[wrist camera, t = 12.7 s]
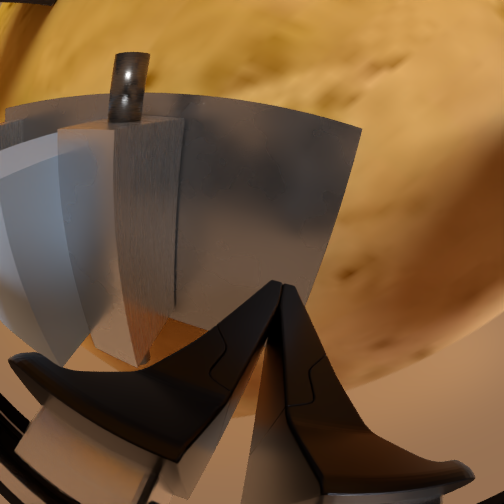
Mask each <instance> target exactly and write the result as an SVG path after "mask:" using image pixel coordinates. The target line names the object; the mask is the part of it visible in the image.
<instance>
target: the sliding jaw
mask: <svg viewBox="0 0 504 504" xmlns="http://www.w3.org/2000/svg"><path fill="white" fill-rule="evenodd" d="M149 59H150V54H148V53H141V52H125V53H118V54H116V55H115V61H114V67H113V74H112V81H111V89H110V98H109V109H108V119H103V120H97V121H92V122H87V123H82V124H77V125H73V126H68V127H64V128H60V129H58V138H57V142H58V173H59V187H60V198H61V207H62V215H63V222H64V229H65V235H66V241H67V246H68V252H69V257H70V261H71V266H72V270H73V275H74V279H75V283H76V287H77V291H78V294H79V298H80V302H81V305H82V309H83V312H84V315H85V318H86V321H87V325H88V328H89V331H90V333H91V336H92V339H93V342H94V345H95V347H96V348H97V349H99V350H101V351H103V352H105V353H107V354H109V355H111V356H113V357H115V358H117V359H120V360H122V361H124V362H126V363H128V364H130V365H133V366H135V367H137V368H138V366H139V365H143V364H146V363H147V362H148V361H149V360H150V352H149V348H150V347H151V345H152V344H153V342H154V340H155V339H156V337H157V336H158V334H159V332H160V331H161V329H162V328H163V326H164V325H165V323H166V321H167V320H168V318H169V317H170V315H171V314H172V312H173V311H174V259H175V230H176V211H177V195H178V182H179V170H180V160H181V150H182V141H183V133H184V125H185V118H175V117H163V116H148V115H142V108H143V99H144V91H145V84H146V77H147V71H148V65H149Z"/></svg>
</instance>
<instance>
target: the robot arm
mask: <svg viewBox="0 0 504 504" xmlns="http://www.w3.org/2000/svg"><path fill="white" fill-rule="evenodd" d="M266 340H267V341H266ZM265 343H266V347H265V354H264V361H263V368H262V375H261V382H260V389H259V396H258V403H257V409H256V416H255V423H254V430H253V435H252V441H251V448H250V454H249V455H250V456H249V459H248V465H247V472H246V477H245V483H244V488H243V494H242V499H241V504H443V495H445V494H447V493H449V492H452V491H454V490H456V489H458V488H461V487H463V486H465V485H467V484H468V483H470V482H472V481H473V480H474V479H475V475H474V473H473V472H472V470H471V469H470V468H469V467H468V466H466V465H465V464H463V463H462V462H460V461H457V460H451V461H445V462H435V461H431V460H427V459H424V458H421V457H419V456H417V455H415V454H413V453H410V452H409V451H407V450H405V449H403V448H400V447H399V446H397V445H394V444H393V443H391V442H389V441H387V440H385V439H383V438H381V437H379V436H377V435H376V434H374V433H373V432H372V431H371V430H370V429H369V428H368V427H367V426H366V425H365V424H364V422H363V421H362V419H361V417H360V416H359V414H358V412H357V411H356V409H355V407H354V406H353V404H352V402H351V401H350V399H349V397H348V396H347V394H346V392H345V391H344V389H343V387H342V385H341V383H340V382H339V380H338V378H337V376H336V374H335V372H334V370H333V368H332V366H331V364H330V361H329V359H328V357H327V356H326V353H325V350H324V348H323V346H322V344H321V341H320V339H319V337H318V335H317V333H316V330H315V328H314V326H313V324H312V322H311V319H310V317H309V315H308V313H307V311H306V309H305V306H304V304H303V302H302V300H301V298H300V296H299V294H298V291H297V289H296V287H295V286H293V285H290V284H286V283H284V284H282V282H279V281H275V280H270V281H269V282H268V283H267V284H266V285H264V286H263V287H262V288H261V289H260V290H258V291H257V292H256V293H255V294H254V295H252V296H251V297H250V298H249V299H247V300H246V301H245V302H244V303H243V304H241V305H240V306H239V307H238V308H237V309H235V310H234V311H233V312H232V313H230V314H229V315H228V316H227V317H225V318H224V319H223V320H222V321H220V322H219V323H218V324H217V325H216V326H214V327H213V328H212V329H210V330H209V331H208V332H207V333H205V334H204V335H202V336H201V337H200V338H198V339H197V340H195V341H194V342H192V343H190V344H189V345H187V346H186V347H184V348H182V349H180V350H179V351H177V352H175V353H173V354H172V355H170V356H168V357H166V358H164V359H163V360H161V361H159V362H157V363H155V364H153V365H152V366H150V367H147V368H145V369H142V370H138V371H132V372H89V371H74V370H70V369H66V368H63V367H61V366H58V365H57V364H55V363H53V362H52V361H51V360H49V359H48V358H46V357H45V356H43V355H42V354H40V353H37V352H31V353H20V354H16V355H14V356H12V357H10V358H9V359H8V362H9V364H10V366H11V368H12V369H13V371H14V372H15V374H16V375H17V376H18V377H19V379H20V380H21V381H22V383H23V384H24V385H25V386H26V388H27V389H28V390H29V391H30V393H31V394H32V395H33V396H34V397H35V398H36V399H37V400H38V402H39V403H40V404H41V405H42V406H41V407H40V409H39V410H38V411H37V413H36V414H35V416H34V418H33V419H32V420H31V422H30V421H29V420H28V419H27V418H25V417H24V416H23V415H22V414H21V413H20V412H19V411H18V410H17V409H16V408H15V407H13V406H12V404H11V403H10V402H9V401H8V400H7V399H6V398H5V397H4V396H2V394H1V393H0V494H1V495H2V496H3V497H4V498H5V499H6V500H7V501H8V502H9V503H10V504H169V503H170V501H171V499H172V496H173V495H176V496H178V497H181V498H184V499H187V500H188V499H189V497H190V495H191V493H192V492H193V490H194V488H195V486H196V484H197V483H198V481H199V479H200V477H201V475H202V473H203V472H204V470H205V468H206V466H207V464H208V462H209V460H210V458H211V456H212V454H213V453H214V451H215V449H216V446H217V445H218V443H219V441H220V439H221V437H222V435H223V433H224V431H225V429H226V427H227V425H228V423H229V421H230V419H231V417H232V415H233V413H234V411H235V409H236V406H237V404H238V402H239V400H240V398H241V396H242V394H243V392H244V390H245V387H246V385H247V383H248V381H249V379H250V377H251V374H252V372H253V370H254V368H255V366H256V363H257V361H258V359H259V357H260V354H261V352H262V350H263V348H264V345H265ZM477 504H504V491H503V492H501V493H499V494H497V495H495V496H493V497H490V498H488V499H486V500H484V501H482V502H480V503H477Z"/></svg>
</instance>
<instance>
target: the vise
mask: <svg viewBox="0 0 504 504" xmlns="http://www.w3.org/2000/svg"><path fill="white" fill-rule="evenodd" d="M109 98H110V94H95V95H83V96H74V97H65V98H58V99H51V100H45V101H39V102H33V103H28V104H23V105H19V106H14V107H10V108H6V113H5V122H3V123H0V151H1V150H3V149H6V148H9V147H11V146H14V145H17V144H20V143H23V142H26V141H29V140H32V139H36V138H39V137H42V136H46V135H49V134H53V133H57V132H58V129H60V128H64V127H68V126H73V125H77V124H82V123H87V122H92V121H97V120H103V119H108V109H109ZM142 115H148V116H163V117H175V118H185V125H184V133H183V141H182V150H181V160H180V170H179V182H178V195H177V211H176V230H175V259H174V311H173V312H172V314H171V315H170V317H169V318H172V319H175V320H178V321H181V322H184V323H187V324H190V325H193V326H196V327H199V328H202V329H205V330H208V331H209V330H210V329H212V328H213V327H214V326H216V325H217V324H218V323H219V322H220V321H222V320H223V319H224V318H225V317H227V316H228V315H229V314H230V313H232V312H233V311H234V310H235V309H237V308H238V307H239V306H240V305H241V304H243V303H244V302H245V301H246V300H247V299H249V298H250V297H251V296H252V295H254V294H255V293H256V292H257V291H258V290H260V289H261V288H262V287H263V286H264V285H266V284H267V283H268V282H269V281H270V280H275V281H279V282H282V284H284V283H286V284H290V285H293V286H295V287H296V289H297V291H298V294H299V296H300V298H301V300H302V302H303V304H304V306H305V304H306V302H307V299H308V297H309V294H310V292H311V289H312V286H313V284H314V281H315V278H316V276H317V273H318V270H319V267H320V265H321V262H322V259H323V256H324V254H325V251H326V248H327V245H328V242H329V239H330V236H331V233H332V230H333V227H334V224H335V221H336V218H337V215H338V212H339V209H340V206H341V202H342V199H343V196H344V193H345V189H346V186H347V183H348V179H349V176H350V172H351V169H352V165H353V162H354V158H355V155H356V151H357V147H358V143H359V139H360V136H361V132H362V129H361V128H358V127H355V126H352V125H349V124H345V123H342V122H338V121H335V120H331V119H328V118H324V117H320V116H317V115H313V114H309V113H305V112H300V111H296V110H291V109H287V108H282V107H277V106H272V105H267V104H261V103H255V102H249V101H243V100H236V99H228V98H220V97H211V96H200V95H188V94H170V93H144V99H143V108H142ZM266 341H267V340H266ZM264 347H266V343H265V345H264Z"/></svg>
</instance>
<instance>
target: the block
mask: <svg viewBox="0 0 504 504" xmlns="http://www.w3.org/2000/svg"><path fill="white" fill-rule="evenodd" d="M57 138H58V132H57V133H53V134H49V135H46V136H42V137H39V138H36V139H32V140H29V141H26V142H23V143H20V144H17V145H14V146H11V147H9V148H6V149H3V150H1V151H0V320H1V321H2V323H3V324H4V325H5V326H6V327H8V328H9V329H10V330H11V331H12V332H13V333H15V334H16V335H17V336H18V337H19V338H20V339H22V340H23V341H24V342H25V343H27V344H28V345H29V346H31V347H32V348H33V349H34V350H36V351H37V352H38V353H40V354H42V355H43V356H45V357H46V358H48V359H49V360H51V361H52V362H53V363H55V364H57V365H58V366H61V367H63V366H64V365H65V364H66V362H67V361H68V360H69V358H70V357H71V356H72V355H73V353H74V352H75V351H76V349H77V348H78V347H79V346H80V344H81V343H82V342H83V341H84V340H85V338H86V337H87V336H88V335H89V333H90V331H89V328H88V325H87V321H86V318H85V315H84V312H83V309H82V305H81V302H80V298H79V294H78V291H77V287H76V283H75V279H74V275H73V270H72V266H71V261H70V257H69V252H68V246H67V241H66V235H65V229H64V222H63V215H62V207H61V198H60V187H59V173H58V142H57Z"/></svg>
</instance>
